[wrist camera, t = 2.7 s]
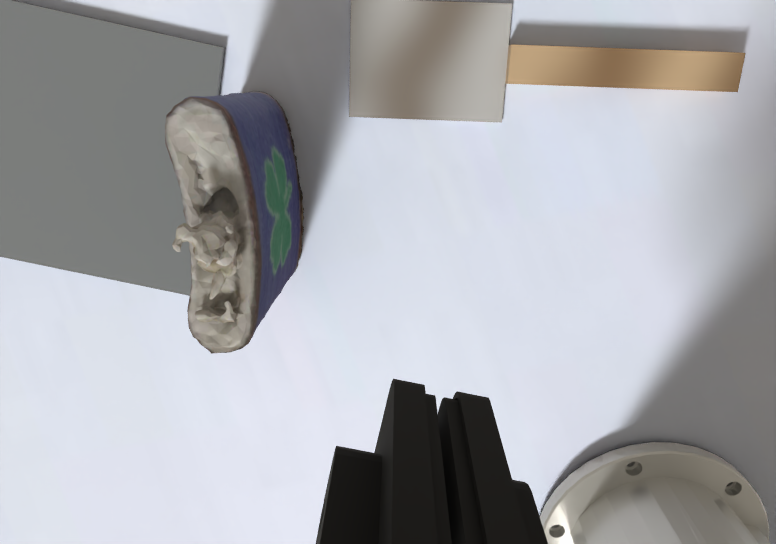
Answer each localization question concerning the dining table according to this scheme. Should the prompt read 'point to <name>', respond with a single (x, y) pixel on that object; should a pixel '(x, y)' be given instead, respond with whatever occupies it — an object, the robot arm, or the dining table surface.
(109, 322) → the dining table surface
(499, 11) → the turner
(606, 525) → the robot arm
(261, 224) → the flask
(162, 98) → the slate board
